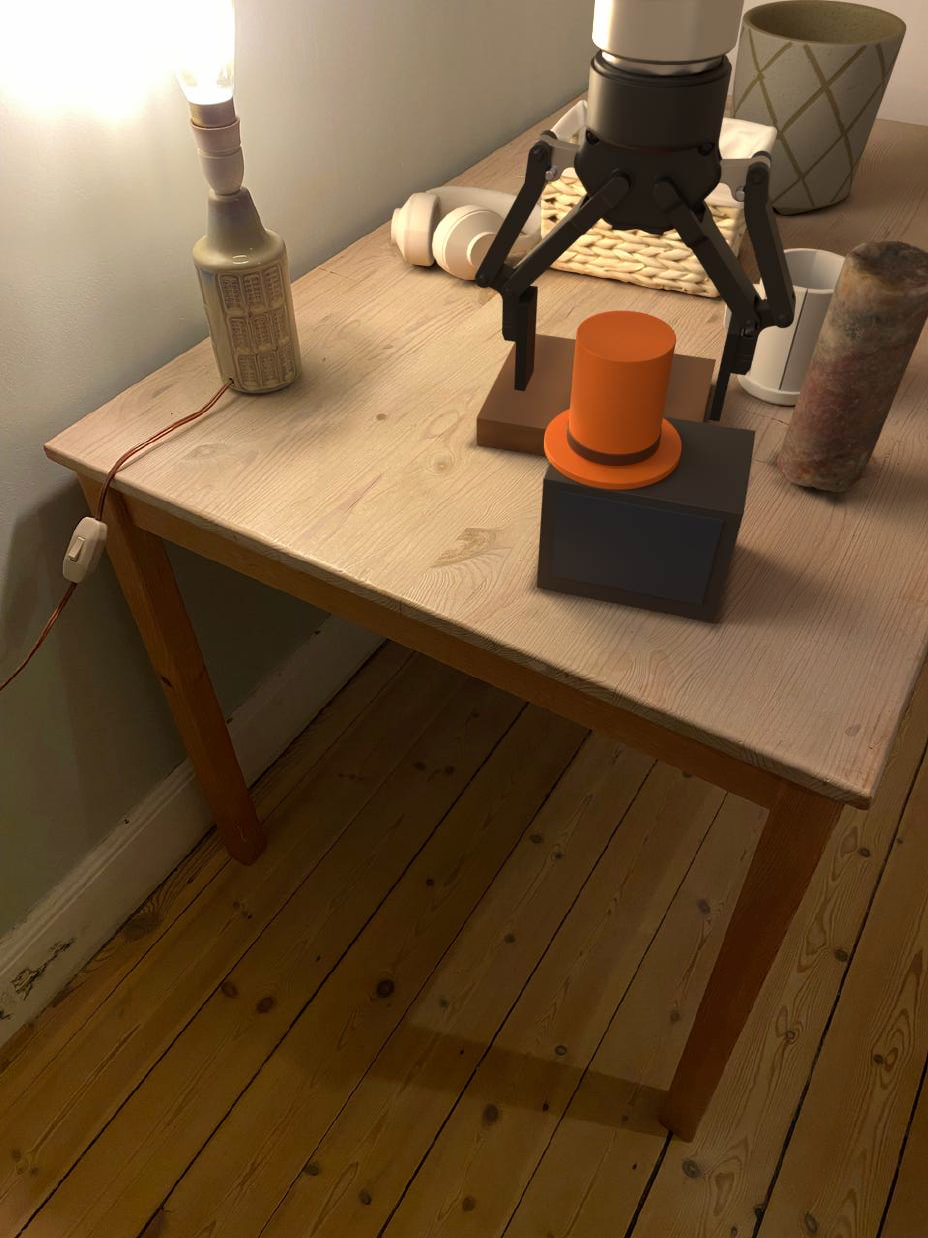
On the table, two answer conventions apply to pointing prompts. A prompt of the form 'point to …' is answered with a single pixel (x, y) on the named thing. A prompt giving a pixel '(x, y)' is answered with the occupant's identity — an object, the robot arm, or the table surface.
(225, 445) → the table surface
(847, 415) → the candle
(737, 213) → the basket
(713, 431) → the television
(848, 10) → the planter
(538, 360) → the brown wooden board
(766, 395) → the cup
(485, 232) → the headphones
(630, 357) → the hat
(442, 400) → the table surface
